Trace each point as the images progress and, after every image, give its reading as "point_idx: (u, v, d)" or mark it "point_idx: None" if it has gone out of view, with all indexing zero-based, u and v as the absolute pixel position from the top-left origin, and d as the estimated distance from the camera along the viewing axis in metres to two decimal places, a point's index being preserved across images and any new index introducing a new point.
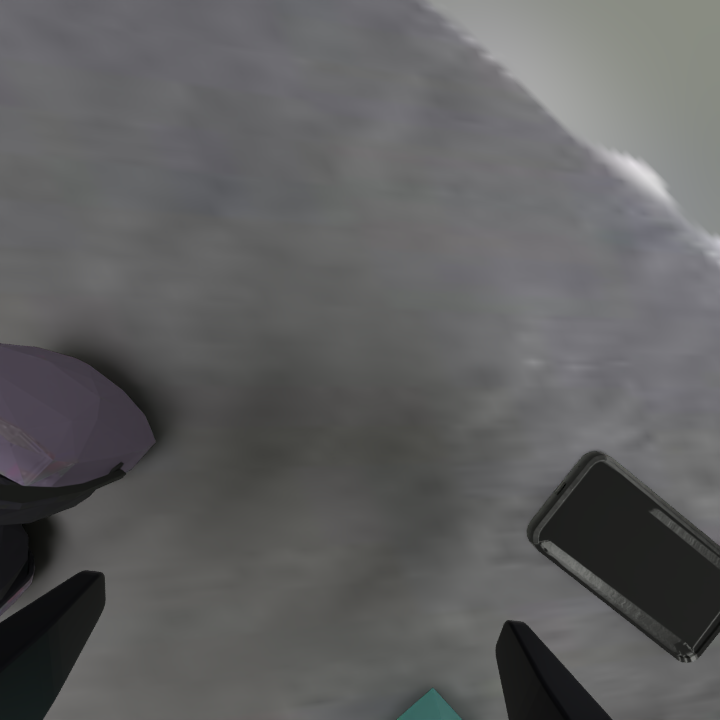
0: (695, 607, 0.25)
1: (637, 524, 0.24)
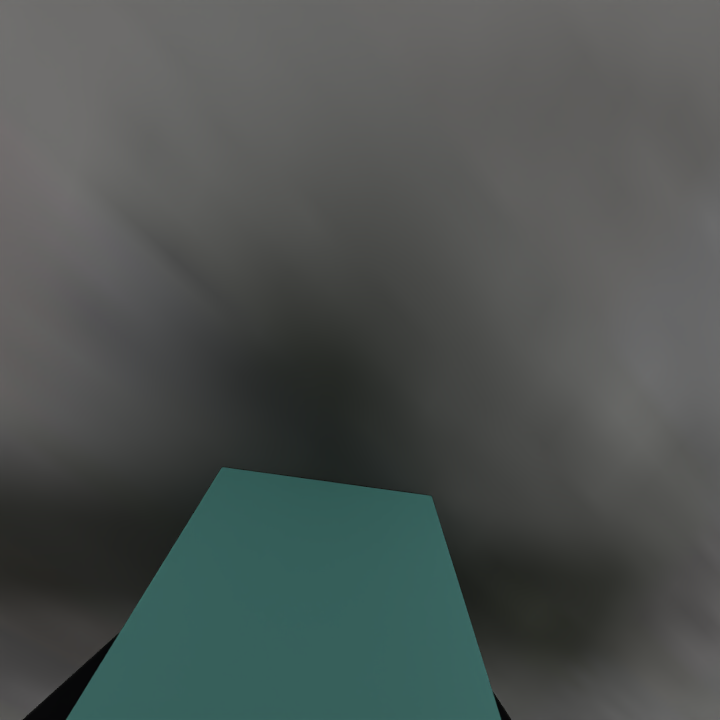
0: None
1: None
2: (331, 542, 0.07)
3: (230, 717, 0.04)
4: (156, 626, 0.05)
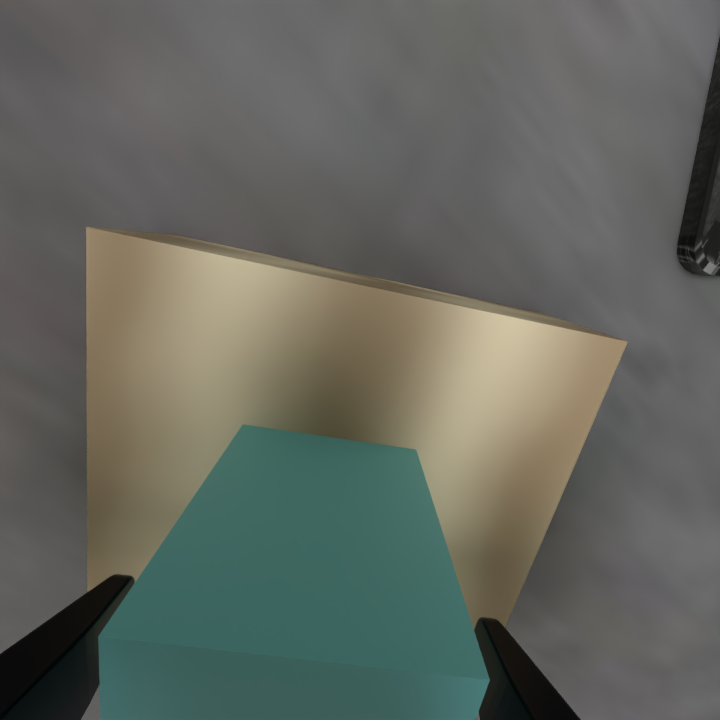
0: None
1: None
2: (333, 474, 0.09)
3: (262, 563, 0.06)
4: (204, 515, 0.07)
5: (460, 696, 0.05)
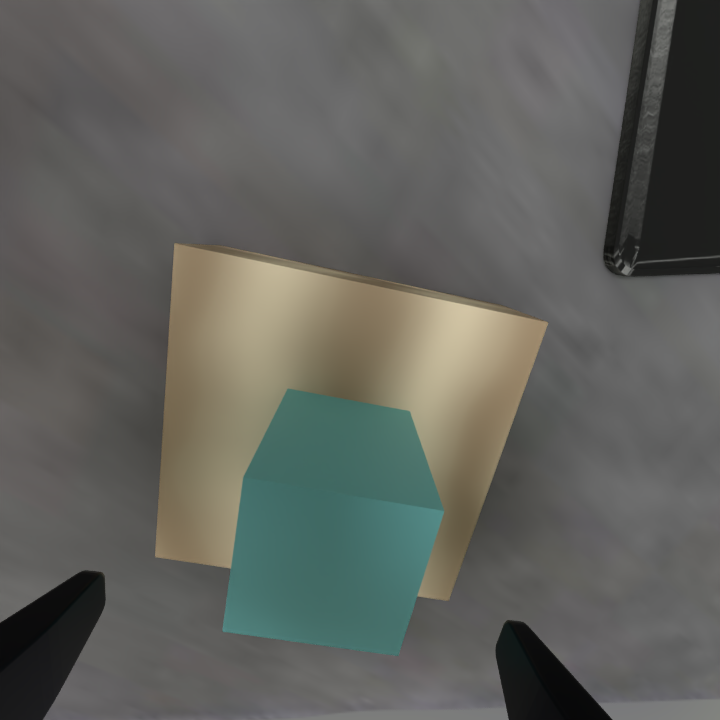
0: (693, 221, 0.17)
1: None
2: (353, 420, 0.13)
3: (318, 458, 0.10)
4: (279, 434, 0.11)
5: (428, 520, 0.09)
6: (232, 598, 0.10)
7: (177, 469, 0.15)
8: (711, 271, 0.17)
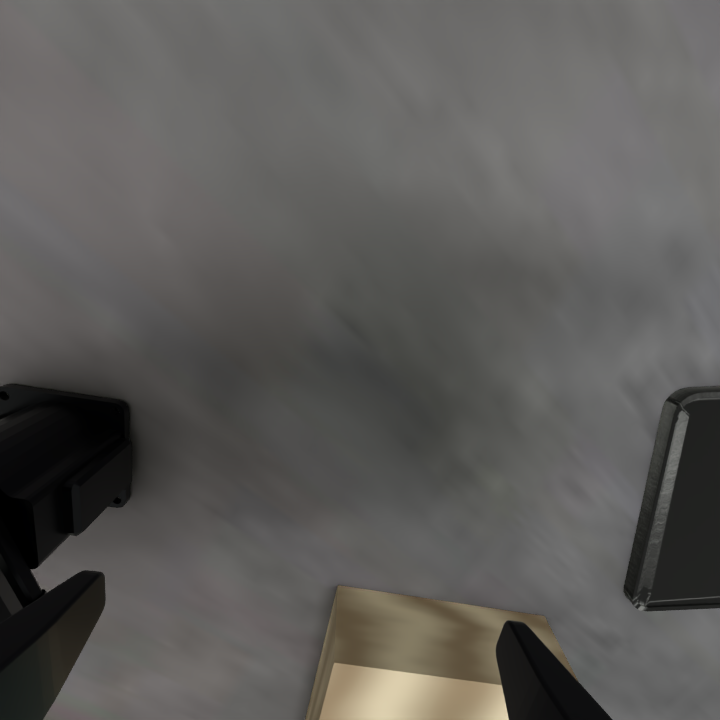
0: (690, 578, 0.23)
1: None
2: None
3: None
4: None
5: None
6: None
7: None
8: (704, 607, 0.23)
